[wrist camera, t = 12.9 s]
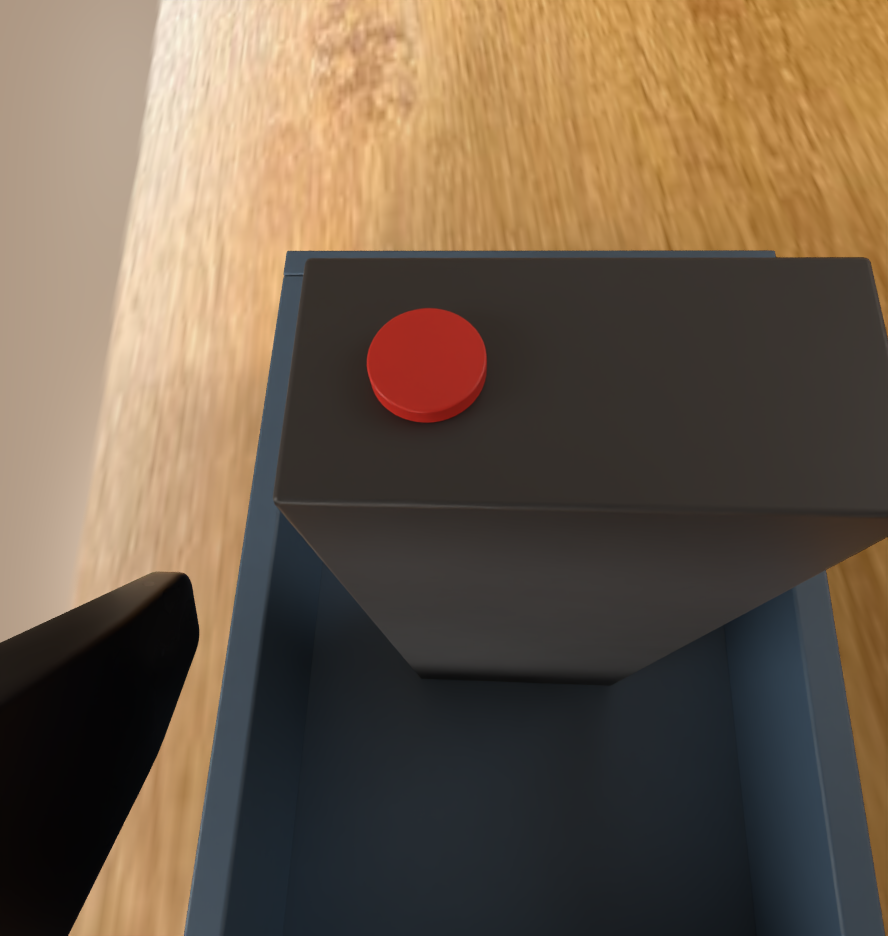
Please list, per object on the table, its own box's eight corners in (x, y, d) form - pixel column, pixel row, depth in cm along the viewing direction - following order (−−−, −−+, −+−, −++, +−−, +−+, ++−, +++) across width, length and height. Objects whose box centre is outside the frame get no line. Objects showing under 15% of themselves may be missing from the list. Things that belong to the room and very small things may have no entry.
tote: (792, 1050, 15) (928, 1180, 10) (249, 1012, 15) (154, 1118, 11) (712, 358, 21) (775, 249, 16) (327, 354, 21) (286, 250, 17)
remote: (612, 686, 17) (951, 509, 5) (420, 679, 17) (261, 493, 5) (607, 586, 18) (882, 216, 6) (425, 581, 18) (300, 218, 6)
